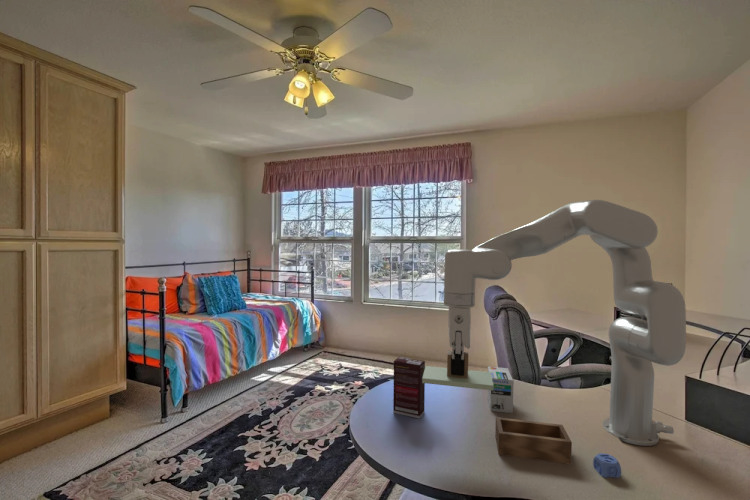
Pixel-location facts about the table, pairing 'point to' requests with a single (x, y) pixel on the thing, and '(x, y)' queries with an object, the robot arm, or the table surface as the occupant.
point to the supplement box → (409, 387)
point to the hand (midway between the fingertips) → (457, 371)
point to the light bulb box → (501, 390)
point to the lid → (468, 380)
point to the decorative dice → (607, 465)
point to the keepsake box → (533, 440)
